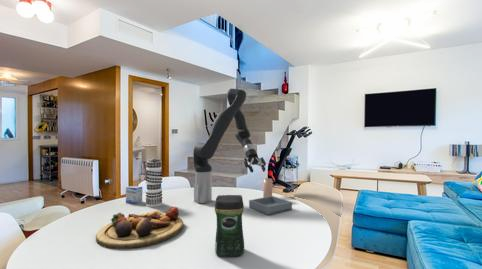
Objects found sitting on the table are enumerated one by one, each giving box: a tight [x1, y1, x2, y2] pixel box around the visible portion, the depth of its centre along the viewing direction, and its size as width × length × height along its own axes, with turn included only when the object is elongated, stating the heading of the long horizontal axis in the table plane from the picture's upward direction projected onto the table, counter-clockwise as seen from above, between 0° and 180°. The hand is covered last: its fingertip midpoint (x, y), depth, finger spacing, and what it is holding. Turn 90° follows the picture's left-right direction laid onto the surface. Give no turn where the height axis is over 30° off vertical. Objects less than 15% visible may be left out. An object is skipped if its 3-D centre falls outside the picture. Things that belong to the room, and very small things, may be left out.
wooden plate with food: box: [95, 206, 184, 250], centre depth 98 cm, size 32×32×8 cm
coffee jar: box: [214, 194, 245, 258], centre depth 80 cm, size 10×8×19 cm
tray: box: [248, 195, 293, 216], centre depth 126 cm, size 16×15×4 cm
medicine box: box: [125, 185, 143, 205], centre depth 138 cm, size 8×4×9 cm, turn 73°
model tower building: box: [144, 157, 164, 208], centre depth 134 cm, size 9×9×25 cm
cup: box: [262, 177, 273, 198], centre depth 144 cm, size 5×5×12 cm
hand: (258, 171), depth 154 cm, fingers open, 8 cm apart
